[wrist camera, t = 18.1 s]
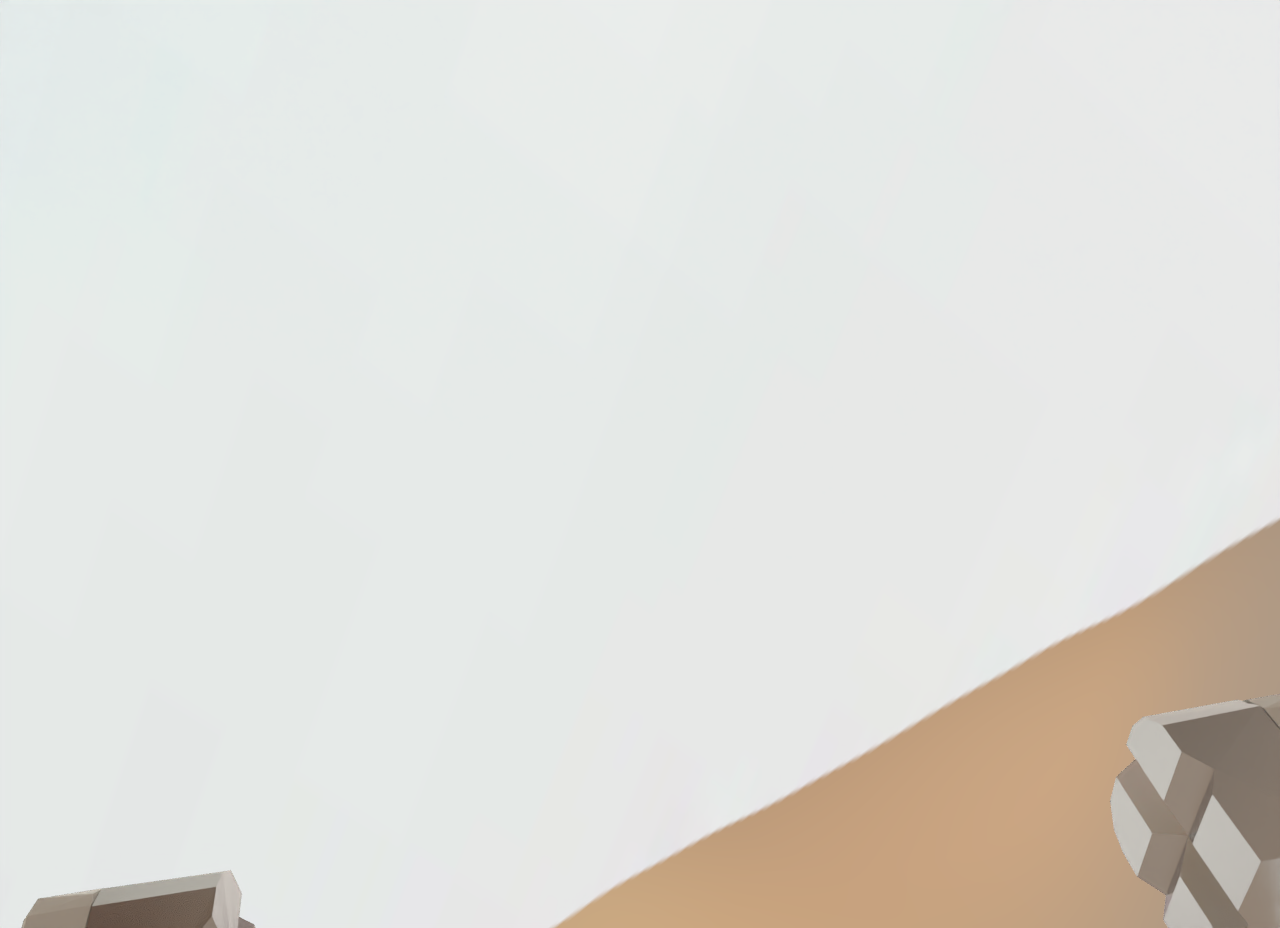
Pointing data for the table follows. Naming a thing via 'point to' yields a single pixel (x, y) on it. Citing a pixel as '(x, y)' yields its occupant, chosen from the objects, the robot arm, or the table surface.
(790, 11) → the table surface
